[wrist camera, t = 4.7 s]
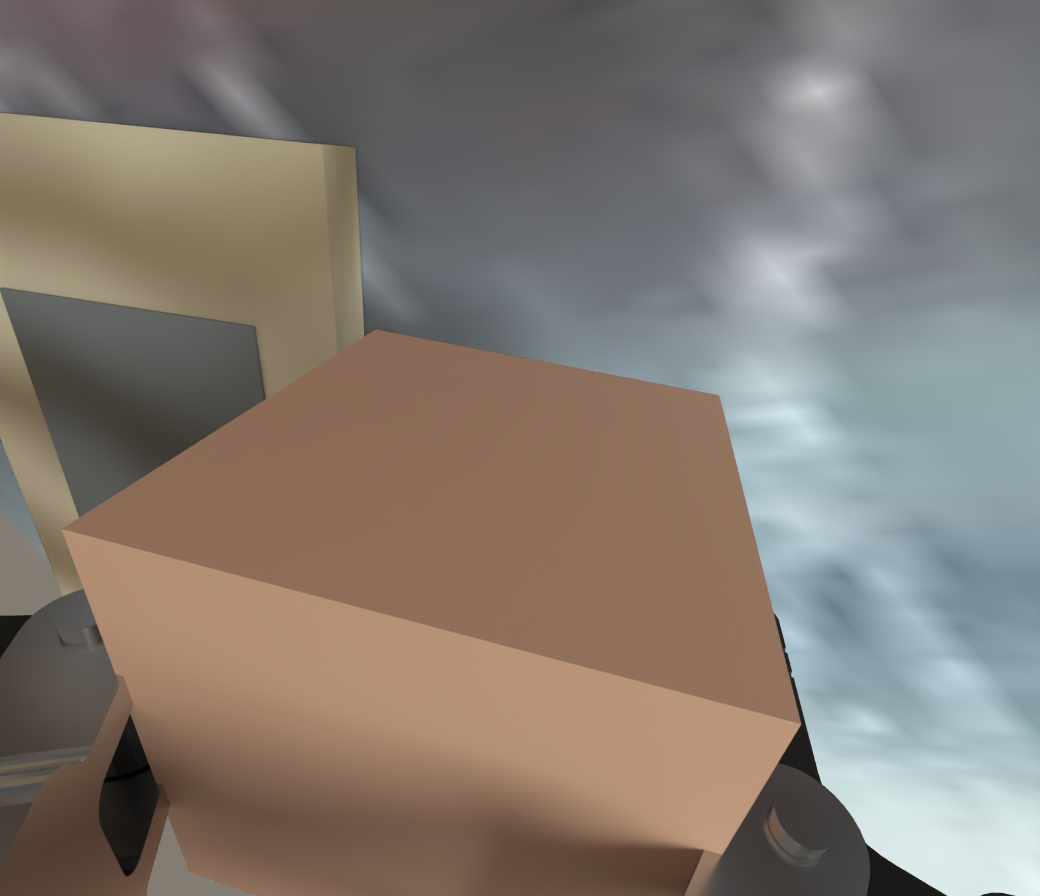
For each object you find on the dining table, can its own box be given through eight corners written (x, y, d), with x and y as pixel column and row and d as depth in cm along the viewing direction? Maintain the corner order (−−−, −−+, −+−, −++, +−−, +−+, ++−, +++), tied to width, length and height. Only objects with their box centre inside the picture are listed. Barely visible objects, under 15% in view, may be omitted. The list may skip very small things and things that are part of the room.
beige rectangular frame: (-65, 105, 15) (-140, 99, 13) (355, 147, 13) (320, 144, 12) (98, 572, 22) (61, 599, 21) (378, 638, 20) (358, 672, 19)
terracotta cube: (375, 329, 10) (61, 528, 5) (718, 395, 9) (800, 724, 4) (378, 580, 13) (189, 872, 8) (637, 646, 12) (621, 1021, 7)
